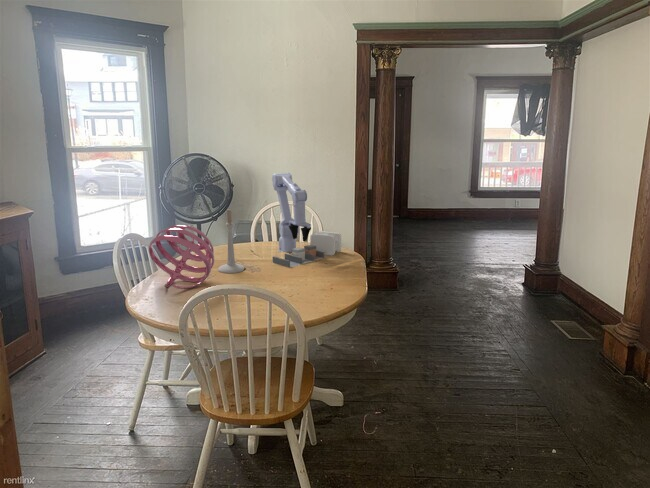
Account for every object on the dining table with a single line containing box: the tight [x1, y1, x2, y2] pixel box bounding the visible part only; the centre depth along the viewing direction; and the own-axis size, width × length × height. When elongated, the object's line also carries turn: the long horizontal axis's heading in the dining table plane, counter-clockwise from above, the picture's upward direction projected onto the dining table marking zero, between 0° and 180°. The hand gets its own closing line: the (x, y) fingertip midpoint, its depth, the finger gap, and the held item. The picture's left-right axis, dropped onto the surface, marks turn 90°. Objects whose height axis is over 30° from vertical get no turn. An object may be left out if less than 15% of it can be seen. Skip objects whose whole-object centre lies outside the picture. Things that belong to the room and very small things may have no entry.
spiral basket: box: [148, 224, 215, 290], centre depth 217 cm, size 28×28×27 cm
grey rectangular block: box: [291, 246, 305, 260], centre depth 256 cm, size 4×5×6 cm
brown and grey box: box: [303, 244, 316, 258], centre depth 262 cm, size 4×5×6 cm
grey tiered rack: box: [272, 250, 325, 268], centre depth 257 cm, size 14×25×4 cm, turn 136°
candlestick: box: [217, 208, 246, 274], centre depth 240 cm, size 13×13×30 cm
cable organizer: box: [309, 230, 342, 256], centre depth 272 cm, size 15×11×12 cm
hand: (299, 239), depth 261 cm, fingers open, 7 cm apart
